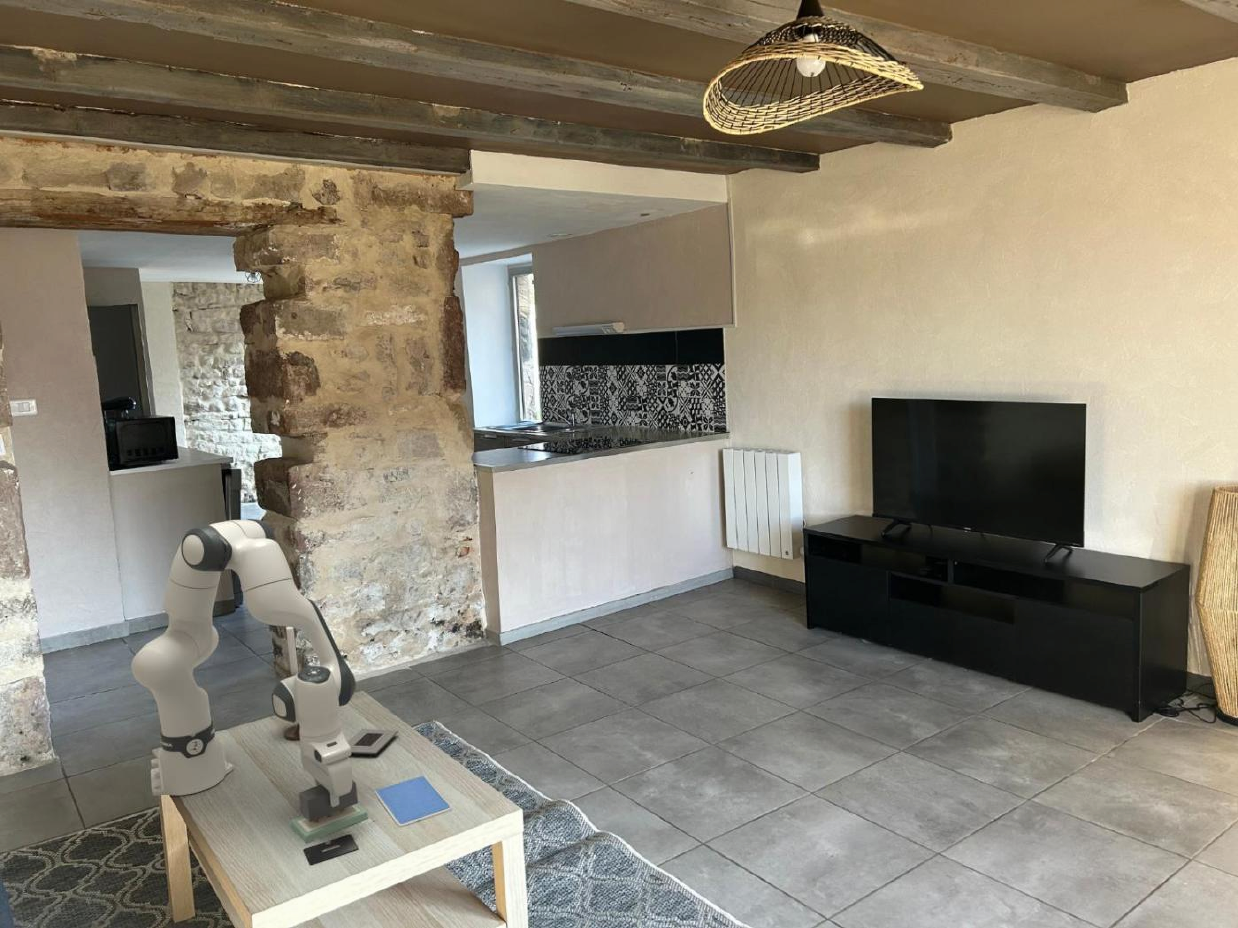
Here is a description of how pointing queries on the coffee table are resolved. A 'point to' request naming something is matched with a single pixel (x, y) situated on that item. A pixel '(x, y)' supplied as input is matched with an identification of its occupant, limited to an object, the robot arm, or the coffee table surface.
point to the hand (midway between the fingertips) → (328, 799)
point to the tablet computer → (412, 801)
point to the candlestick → (293, 731)
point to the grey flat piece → (370, 741)
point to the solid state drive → (330, 849)
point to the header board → (328, 822)
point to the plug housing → (323, 802)
